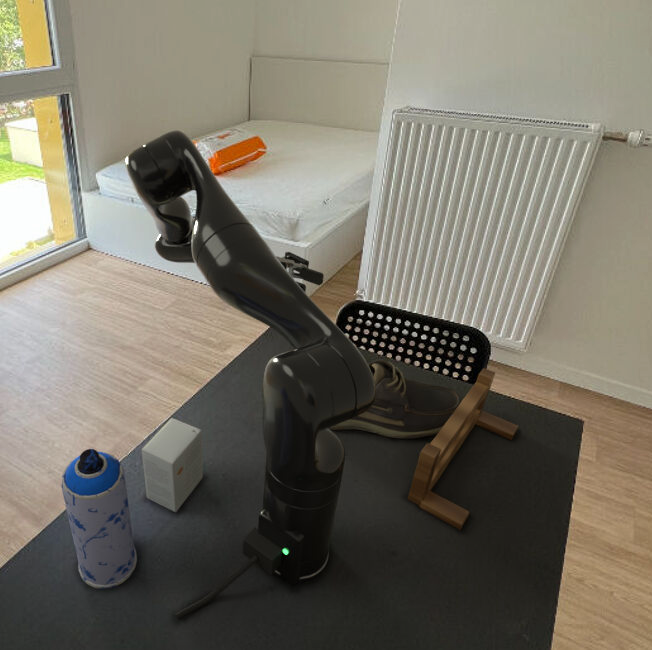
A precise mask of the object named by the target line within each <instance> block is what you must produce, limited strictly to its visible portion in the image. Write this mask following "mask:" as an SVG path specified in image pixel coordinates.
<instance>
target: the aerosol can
mask: <svg viewBox="0 0 652 650" xmlns="http://www.w3.org/2000/svg"><path fill="white" fill-rule="evenodd" d="M122 465H123V464H121V462H120V459H118V458H117V457H115V456H114V455H113V454H110V453H107V452H103V451H98V450H96V449H94V448H88V449H85V450H84V451H82V452H81V453H80V455H78V456H77V457H75V458H74V459H72V460H71V461H70V462H69V463H68V465H67V466H66V467H65V469H64V471H63V472H62V475H61V491H62V495H63V500H64V505H65V509H66V513H67V518H68V523H69V526H70V531H71V535H72V540H73V545H74V550H75V553H76V558H77V563H78V565H77V566H78V568H77V570H78V572H79V575H80V578H81V579H82V580H83V582H84V583H86V585H88V586H90V587H92V588H94V589H101V590H102V589H104V590H105V589H111V588H115V587H117V586H119V585H121V584H123V583H124V582H126V581H127V580H128V579H129V578H130V577H131V575H132V574H133V572H134V570H135V568H136V565H137V562H138V557H137V550H136V547H135V544H134V536H133V528H132V520H131V512H130V505H129V499H128V490H127V483H126V482H127V481H126V475H125V468H124V467H123V466H122Z"/></svg>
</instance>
